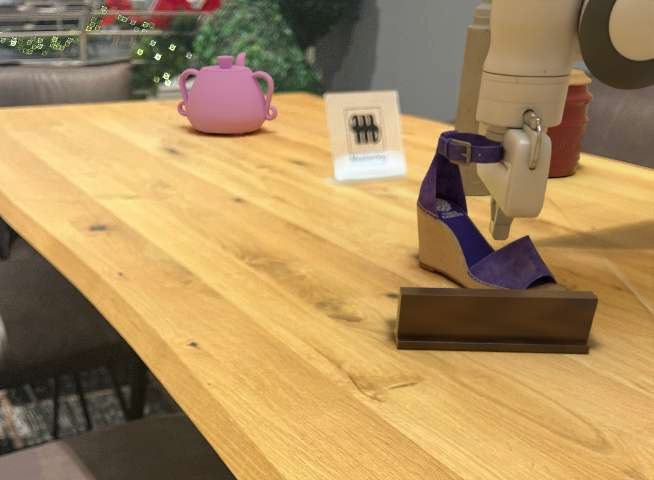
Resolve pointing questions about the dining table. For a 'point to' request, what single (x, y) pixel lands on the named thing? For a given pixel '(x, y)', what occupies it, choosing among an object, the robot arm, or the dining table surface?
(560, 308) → the shoe rail
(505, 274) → the sandal
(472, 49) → the thermos bottle
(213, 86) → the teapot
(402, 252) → the dining table surface
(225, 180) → the dining table surface
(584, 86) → the kitchen canister
